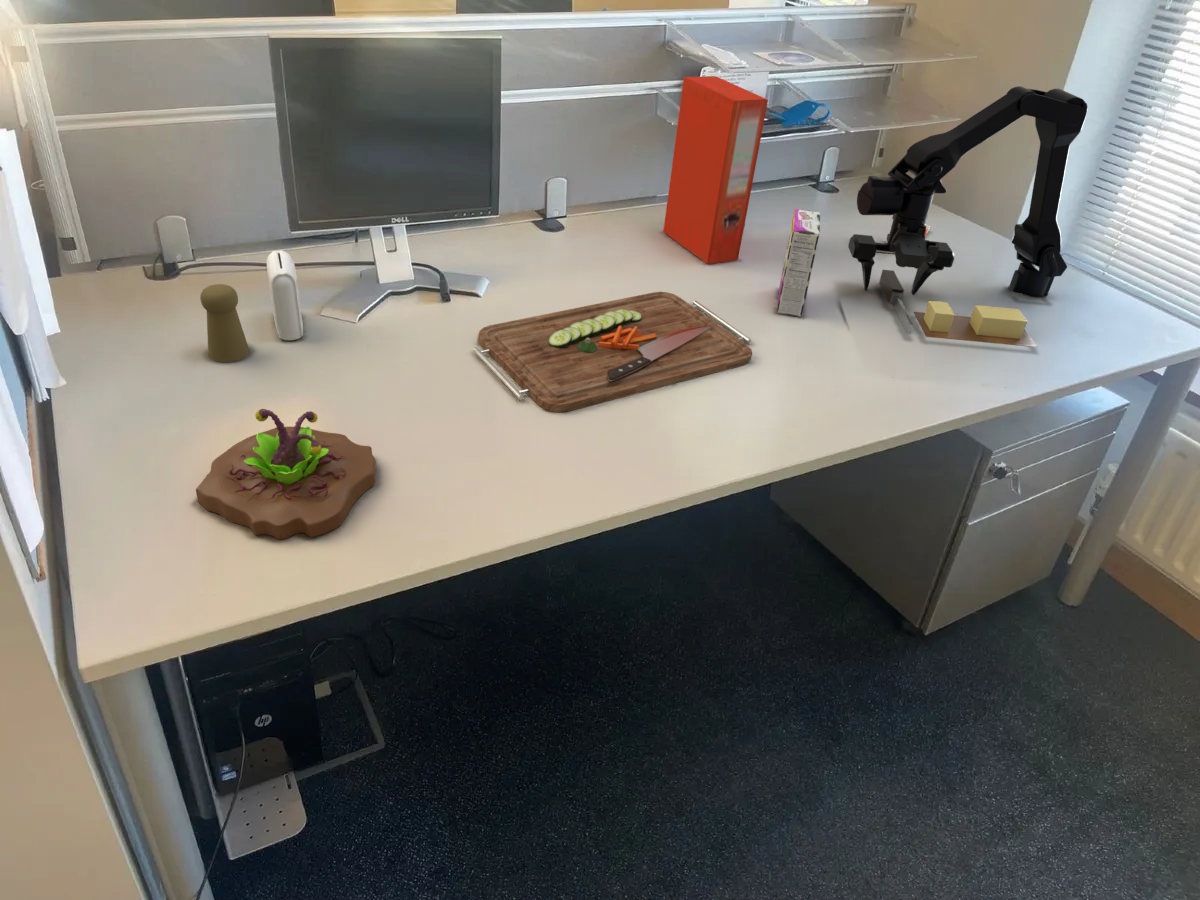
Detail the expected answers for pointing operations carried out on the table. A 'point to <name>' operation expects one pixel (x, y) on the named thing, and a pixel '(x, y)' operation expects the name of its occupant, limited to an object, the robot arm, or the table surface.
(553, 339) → the chopping board
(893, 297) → the knife
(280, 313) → the photo printer
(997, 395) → the table surface
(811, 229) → the candy bar box
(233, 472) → the plant
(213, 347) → the olive brown pawn
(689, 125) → the file binder
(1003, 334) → the butter block
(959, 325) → the butter board
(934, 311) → the butter slice
